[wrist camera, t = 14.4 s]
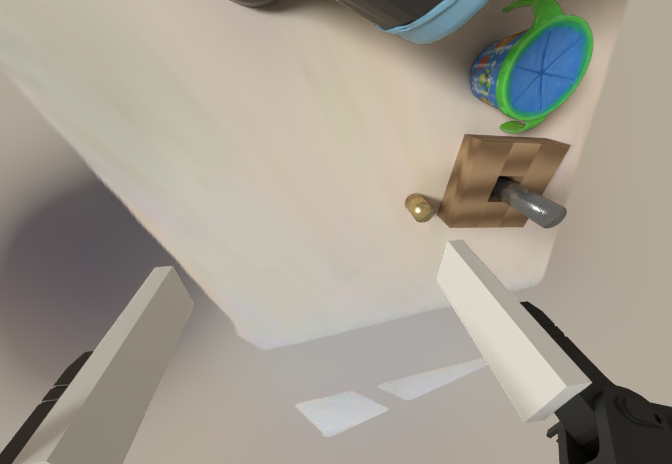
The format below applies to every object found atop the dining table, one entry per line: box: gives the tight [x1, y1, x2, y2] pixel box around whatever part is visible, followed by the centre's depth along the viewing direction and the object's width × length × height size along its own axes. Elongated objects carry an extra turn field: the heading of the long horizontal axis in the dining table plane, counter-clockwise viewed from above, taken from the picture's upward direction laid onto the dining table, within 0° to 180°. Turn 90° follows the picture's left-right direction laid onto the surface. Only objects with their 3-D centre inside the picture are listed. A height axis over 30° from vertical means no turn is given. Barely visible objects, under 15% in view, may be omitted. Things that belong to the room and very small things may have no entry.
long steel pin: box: [491, 176, 566, 228], centre depth 41 cm, size 4×4×15 cm
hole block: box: [438, 134, 571, 228], centre depth 45 cm, size 16×16×5 cm
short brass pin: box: [405, 193, 434, 222], centre depth 46 cm, size 4×4×5 cm
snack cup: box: [470, 0, 593, 133], centre depth 33 cm, size 16×10×10 cm
